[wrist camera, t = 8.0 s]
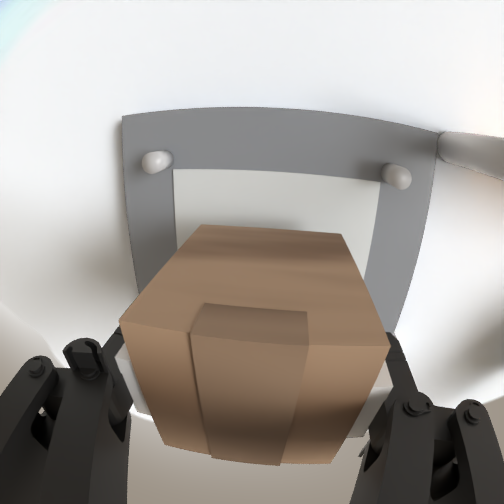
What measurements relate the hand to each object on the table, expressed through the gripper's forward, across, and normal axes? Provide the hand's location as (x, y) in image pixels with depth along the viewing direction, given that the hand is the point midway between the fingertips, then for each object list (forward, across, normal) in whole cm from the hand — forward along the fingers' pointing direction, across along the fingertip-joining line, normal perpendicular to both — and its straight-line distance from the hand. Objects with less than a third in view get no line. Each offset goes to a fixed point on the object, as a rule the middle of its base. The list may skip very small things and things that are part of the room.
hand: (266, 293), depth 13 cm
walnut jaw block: (0, 0, 0) cm, 0 cm away
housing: (+3, +1, 0) cm, 4 cm away
